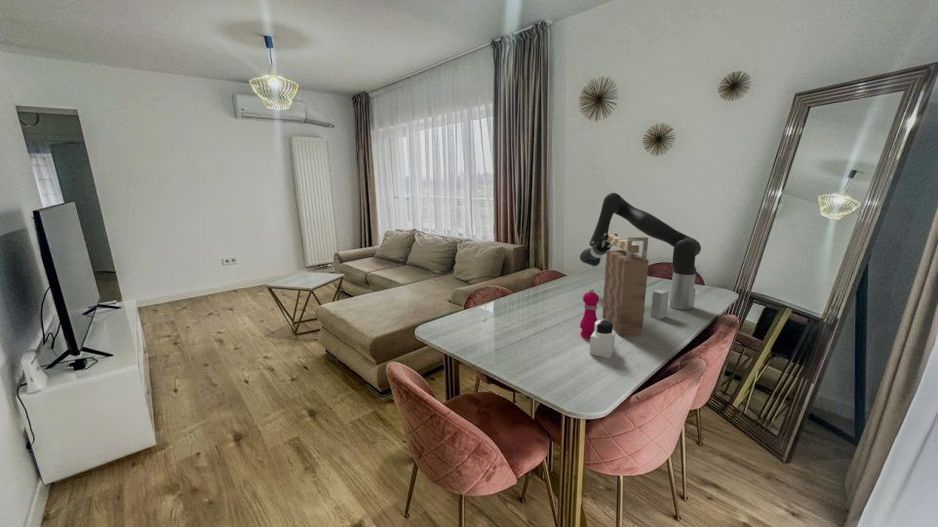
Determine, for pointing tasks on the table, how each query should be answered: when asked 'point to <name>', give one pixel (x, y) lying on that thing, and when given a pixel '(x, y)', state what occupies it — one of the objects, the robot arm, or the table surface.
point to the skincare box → (659, 304)
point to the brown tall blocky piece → (625, 289)
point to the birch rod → (622, 243)
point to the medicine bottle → (602, 339)
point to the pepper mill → (589, 314)
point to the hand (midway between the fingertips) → (612, 235)
